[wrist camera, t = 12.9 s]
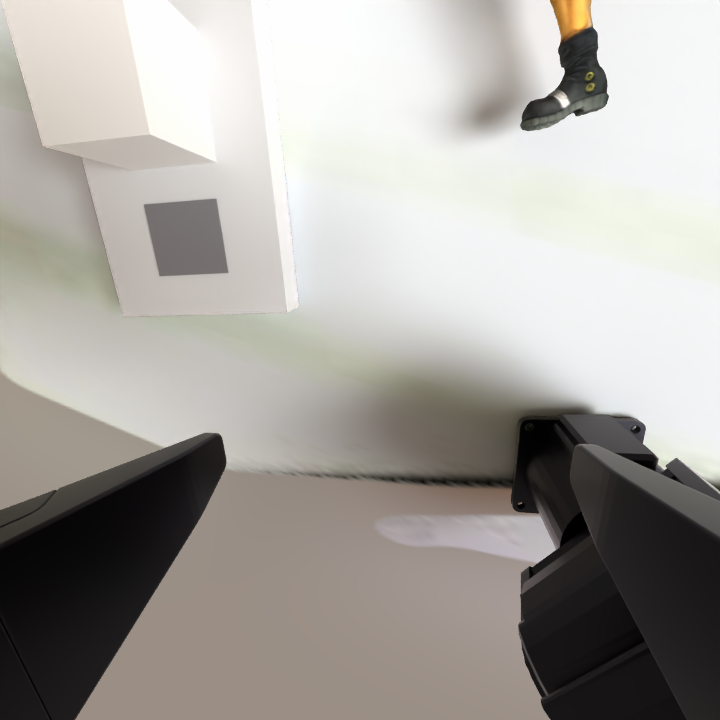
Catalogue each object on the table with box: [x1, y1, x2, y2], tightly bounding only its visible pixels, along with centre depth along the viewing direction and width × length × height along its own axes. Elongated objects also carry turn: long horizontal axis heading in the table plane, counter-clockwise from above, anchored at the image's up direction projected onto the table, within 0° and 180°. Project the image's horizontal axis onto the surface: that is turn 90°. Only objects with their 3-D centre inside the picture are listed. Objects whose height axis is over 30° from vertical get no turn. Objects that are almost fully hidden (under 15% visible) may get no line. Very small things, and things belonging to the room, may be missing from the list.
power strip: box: [81, 0, 299, 317], centre depth 17 cm, size 20×10×3 cm, turn 3°
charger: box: [1, 0, 217, 171], centre depth 15 cm, size 5×5×6 cm
